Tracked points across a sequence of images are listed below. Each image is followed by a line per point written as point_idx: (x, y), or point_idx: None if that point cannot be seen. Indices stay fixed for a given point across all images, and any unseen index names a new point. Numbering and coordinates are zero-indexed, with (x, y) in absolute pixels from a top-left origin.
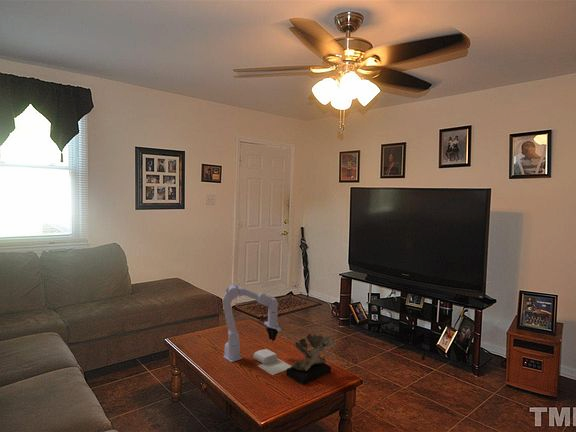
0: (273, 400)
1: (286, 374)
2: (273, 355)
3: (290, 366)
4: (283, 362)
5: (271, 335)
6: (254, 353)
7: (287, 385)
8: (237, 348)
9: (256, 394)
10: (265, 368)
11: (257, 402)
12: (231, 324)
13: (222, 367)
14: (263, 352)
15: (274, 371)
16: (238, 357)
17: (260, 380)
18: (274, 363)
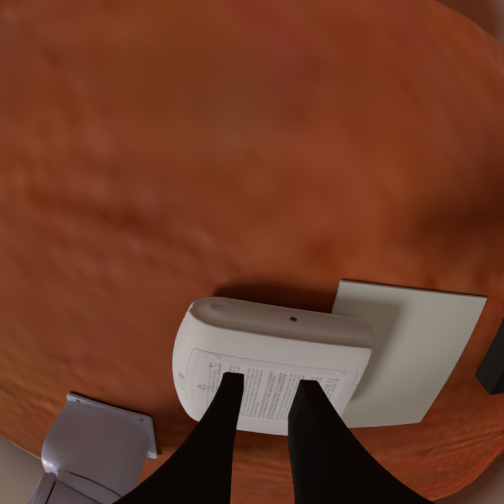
0: (467, 463)
1: (477, 377)
2: (359, 377)
3: (473, 304)
4: (415, 299)
5: (296, 497)
6: (197, 420)
7: (492, 408)
8: (133, 488)
9: (414, 484)
10: (355, 418)
11: (431, 488)
12: None
13: None
14: (252, 400)
15: (415, 403)
16: (144, 437)
17: (388, 461)
18: None
